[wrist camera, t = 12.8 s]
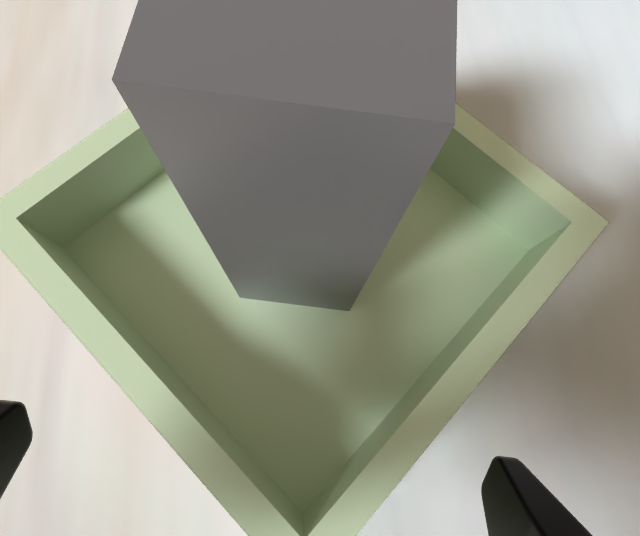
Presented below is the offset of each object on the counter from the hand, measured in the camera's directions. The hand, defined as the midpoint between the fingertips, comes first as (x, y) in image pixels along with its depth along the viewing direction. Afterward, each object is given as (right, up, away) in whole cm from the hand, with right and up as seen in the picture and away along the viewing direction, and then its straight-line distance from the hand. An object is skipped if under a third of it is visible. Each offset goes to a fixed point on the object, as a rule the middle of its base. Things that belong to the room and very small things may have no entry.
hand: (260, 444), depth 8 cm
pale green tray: (0, +4, +11) cm, 11 cm away
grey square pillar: (0, +4, +10) cm, 11 cm away
